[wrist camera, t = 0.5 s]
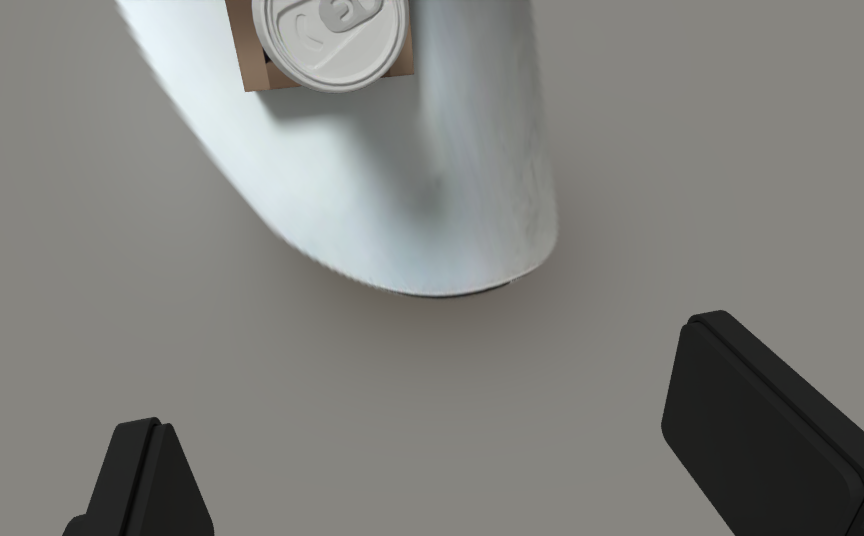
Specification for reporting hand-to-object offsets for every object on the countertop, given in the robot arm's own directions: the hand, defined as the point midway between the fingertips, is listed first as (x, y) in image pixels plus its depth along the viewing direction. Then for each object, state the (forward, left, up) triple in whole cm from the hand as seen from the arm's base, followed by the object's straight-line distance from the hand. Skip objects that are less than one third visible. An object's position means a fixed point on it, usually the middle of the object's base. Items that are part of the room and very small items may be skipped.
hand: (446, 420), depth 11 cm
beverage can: (-6, 0, -28) cm, 28 cm away
